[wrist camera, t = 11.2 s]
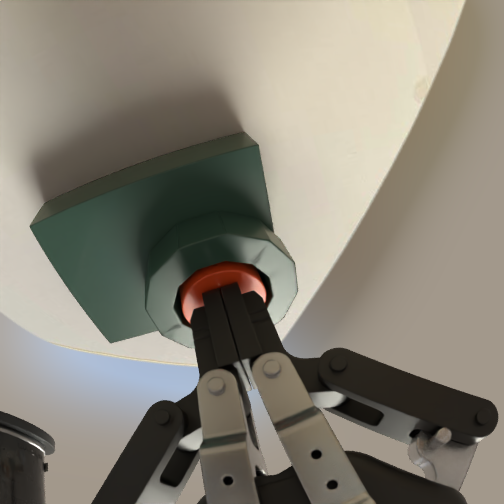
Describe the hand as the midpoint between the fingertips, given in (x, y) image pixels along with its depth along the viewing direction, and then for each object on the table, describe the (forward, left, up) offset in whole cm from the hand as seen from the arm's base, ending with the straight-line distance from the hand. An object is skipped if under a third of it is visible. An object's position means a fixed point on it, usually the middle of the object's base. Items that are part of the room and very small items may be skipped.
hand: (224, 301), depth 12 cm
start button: (0, 0, -2) cm, 2 cm away
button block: (-2, +1, -4) cm, 5 cm away
